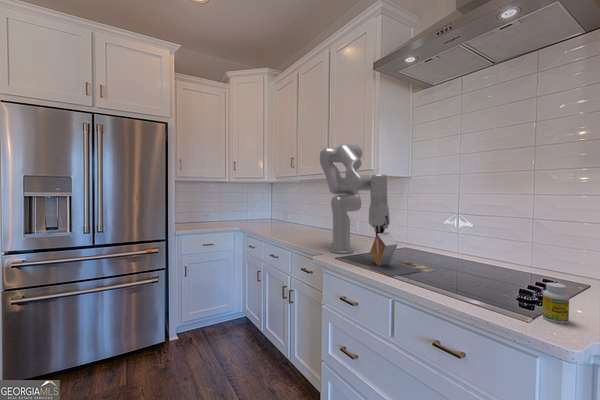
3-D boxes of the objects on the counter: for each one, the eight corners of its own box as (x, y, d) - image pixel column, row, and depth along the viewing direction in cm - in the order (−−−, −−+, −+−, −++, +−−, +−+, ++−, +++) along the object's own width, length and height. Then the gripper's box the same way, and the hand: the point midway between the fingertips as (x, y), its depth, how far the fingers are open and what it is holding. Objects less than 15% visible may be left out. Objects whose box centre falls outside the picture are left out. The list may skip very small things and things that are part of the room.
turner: (398, 262, 138) (398, 260, 138) (406, 261, 140) (406, 259, 140) (426, 272, 123) (426, 270, 123) (435, 271, 125) (435, 268, 125)
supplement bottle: (559, 316, 81) (560, 281, 81) (573, 325, 76) (575, 288, 76) (537, 314, 82) (538, 281, 82) (550, 323, 77) (551, 287, 76)
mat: (369, 267, 130) (369, 267, 130) (397, 264, 136) (397, 263, 136) (390, 276, 117) (390, 276, 117) (421, 271, 124) (421, 271, 124)
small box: (369, 253, 138) (376, 233, 131) (380, 251, 140) (388, 231, 133) (377, 266, 132) (385, 245, 125) (389, 264, 134) (398, 244, 127)
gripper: (362, 201, 141) (363, 239, 141) (382, 201, 127) (383, 243, 128) (375, 200, 144) (376, 237, 144) (396, 200, 130) (397, 242, 130)
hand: (379, 240), depth 136 cm, fingers closed
